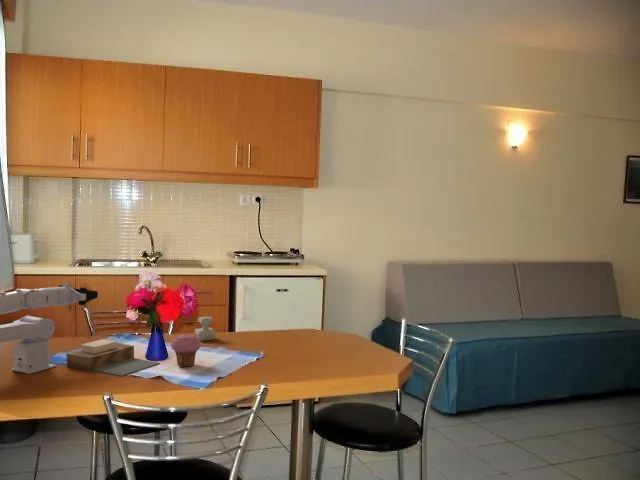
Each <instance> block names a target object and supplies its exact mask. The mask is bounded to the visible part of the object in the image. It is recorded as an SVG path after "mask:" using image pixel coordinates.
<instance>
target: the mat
mask: <svg viewBox="0 0 640 480" xmlns="http://www.w3.org/2000/svg"><path fill="white" fill-rule="evenodd" d="M160 364H161V363H160V362H157V361H152V360H151V361H150V360H145V359H141V358H135V357H134V358H129V359H126V360H122V361H119V362H116V363H112V364H109V365H106V366H102V367H99V368H95V369H92V372H93V371H94V372H99V373H104V374H107V375H112V376H118V377H123V376H127V375H131V374H133V373H136V372H135V371H137V372H139V371H138V370H140V371H142V370H141V369H143V370H146V369H149V368H152V367H154V366H158V365H160ZM145 368H146V369H145Z"/></svg>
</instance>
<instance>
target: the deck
mask: <svg viewBox="0 0 640 480" xmlns="http://www.w3.org/2000/svg"><path fill="white" fill-rule="evenodd" d="M129 358H135V346H134V345H133V344H132V345H130V344H125V343H118V342H117V348H113V349H109V350H106V351H102V352H98V353H89V352H84V351H81V349H79V350H76V351H72V352H68V353H66V367H69V368H72V369H76V370H77V369H78V370H83V371H86V372H87V371H88V372H90V371H92V372H93V370H92V369H95V368H99V367H102V366H106V365H109V364H112V363H116V362H119V361H122V360H126V359H129Z"/></svg>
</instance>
